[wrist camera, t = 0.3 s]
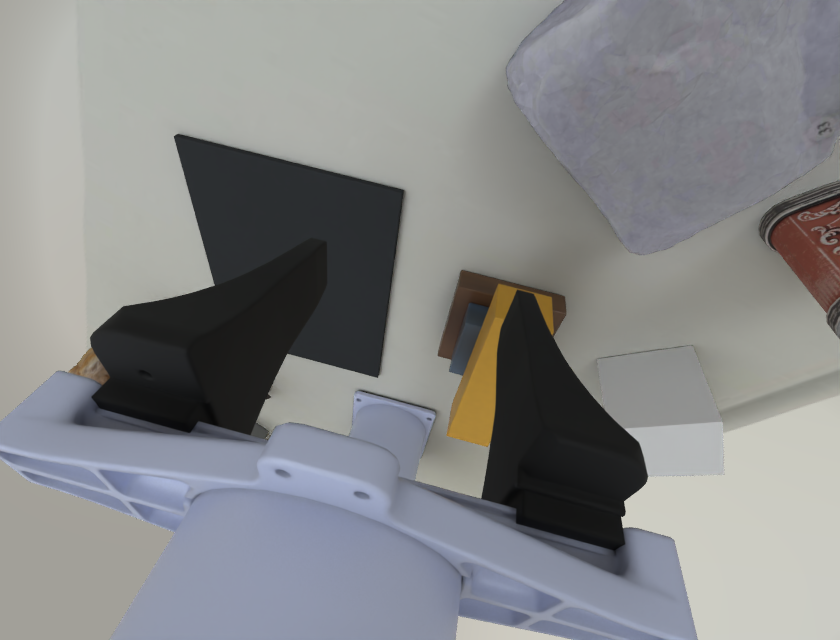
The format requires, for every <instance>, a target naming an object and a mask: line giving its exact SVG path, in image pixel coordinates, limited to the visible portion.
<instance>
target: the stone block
mask: <svg viewBox="0 0 840 640" xmlns="http://www.w3.org/2000/svg"><path fill="white" fill-rule="evenodd" d="M506 74H507V79H508V85H507V86H508V89H509V90H510V91H511V93H512V96H513V98H514V101H515V103H516V105H517V106H518V107H519V108H520V110H521V111H522V112H523V114H524V115H525V116H526V118H527V119H528V121H529V123H530V124H531V126H532V127H533V128H534V130H535V131H536V133H537V134H538V135H539V137H540V138H541V139H542V141H543V142H544V143H545V144H546V145H547V147H548V148H549V149H550V150H551V152H552V153H553V154H554V155H555V157H556V158H557V159H558V161H559V162H560V163H561V164H562V166H563V167H564V168H565V169H566V170H567V172H568V173H569V174H570V175H571V176H572V177H573V178H574V180H575V181H576V182H577V183H578V184H579V185H580V186H581V187H582V188H583V189H584V190H585V191H586V193H587V194H588V195H589V197H590V198H591V199H592V200H593V202H594V203H595V204H596V206H597V207H598V208H599V210H600V211H601V213H602V214H603V215H604V217H605V218H606V219H607V220H608V222H609V224H610V225H611V227H612V229H613V230H614V232H615V234H616V235H617V237H618V238H619V240H620V241H621V242H622V243H623V245H624V246H625V247H626V249H627V250H628V251H629V252H630V253H635V254H638V255H646V254H650V253H654V252H657V251H660V250H665V249H668V248H670V247H672V246H674V245H675V244H676V243H678V242H681V241H683V240H685V239H688V238H690V237H692V236H693V235H695V234H696V233H698V232H699V231H701V230H703V229H706V228H708V227H710V226H712V225H714V224H716V223H718V222H720V221H722V220H724V219H726V218H728V217H730V216H732V215H734V214H735V213H738V212H740V211H742V210H744V209H746V208H748V207H750V206H752V205H754V204H756V203H759V202H760V201H762V200H764V199H766V198H768V197H769V196H771V195H773V194H775V193H776V192H778V191H780V190H781V189H783V188H784V187H786V186H787V185H788V184H790V183H791V182H793V181H794V180H796V179H798V178H800V177H801V176H803V175H805V174H806V173H807V172H809V171H810V170H811V169H813V168H814V167H816V166H817V165H818V164H820V163H821V162H823V161H824V160H825V159H826V158H828V157H829V156H830V155H831V154H832V152H833V149H834V146H835V143H836V140H837V137H838V136H840V0H565V1H564V2H563V3H562V4H561V5H559V6H558V7H556V8H555V9H554V10H553V11H552V12H551V14H550V15H549V16H548V17H547V18H546V19H545V20H544V21H543V22H541V23H540V24H539V25H538V26H537V27H536V28H535V29H534V30H533V31H532V32H531V33H530V34H529V35H528V36H527V37H526V38H525V39H524V40H523V41H522V42H521V44H520V45H519V47H518V49H517V50H516V52H515V54H514V55H513V57H512V58H511V59H510V61H509V63H508V65H507V67H506Z"/></svg>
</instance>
